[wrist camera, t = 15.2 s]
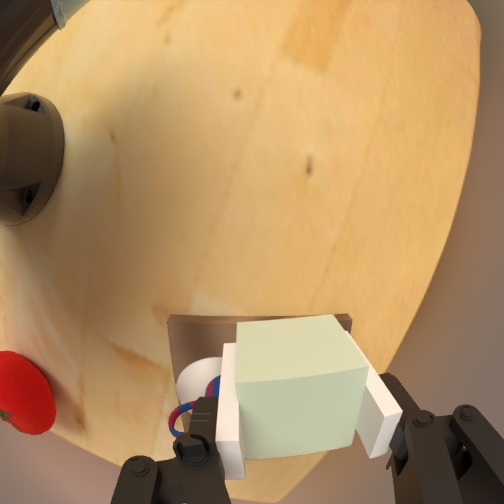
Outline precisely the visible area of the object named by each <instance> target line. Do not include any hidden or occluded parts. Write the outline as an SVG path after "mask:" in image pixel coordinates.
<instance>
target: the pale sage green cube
mask: <svg viewBox="0 0 504 504" xmlns="http://www.w3.org/2000/svg"><path fill="white" fill-rule="evenodd" d="M368 371H369V365H368V363H367V362H366V361H365V359H364V358H363V356H362V355H361V353H360V352H359V350H358V349H357V348H356V346H355V345H354V343H353V342H352V340H351V339H350V338H349V336H348V335H347V333H346V332H345V330H344V329H343V328H342V326H341V325H340V323H339V322H338V321H337V319H336V318H335V316H334V315H333V314H328V315H319V316H310V317H300V318H289V319H277V320H265V321H251V322H237V335H236V368H235V386H236V394H237V402H239V408H240V416H241V423H242V430H243V437H244V445H245V460H254V459H268V458H279V457H288V456H296V455H303V454H310V453H316V452H322V451H327V450H333V449H338V448H342V447H347V446H351V444H352V440H353V437H354V433H355V429H356V426H357V422H358V417H359V413H360V409H361V404H362V400H363V395H364V390H365V385H366V381H367V376H368Z"/></svg>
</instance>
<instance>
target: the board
mask: <svg viewBox="0 0 504 504" xmlns="http://www.w3.org/2000/svg"><path fill="white" fill-rule="evenodd" d="M311 316H319V315H311ZM334 316H335V318H336V319H337V321H338V322H339V323H340V325H341V326H342V328H343V329H344V330H345V331H348V333H349V334H350V331H351V325H352V319H351V318H350V316H349V315H348V314H334ZM300 317H310V316H269V317H230V316H188V315H170V317H169V319H168V321H167V324H168V333H169V341H170V349H171V356H172V363H173V370H174V377H175V383H176V393H177V397H178V400H179V406H180V405H182V404H185V403H187V402H191V401H195V400H197V399H198V398H199V397H205V392H206V388H207V385H208V384H209V383H210V381H211V380H213V379H214V378H215V377H217V376H219V375H221V368H222V357H223V347H224V343H236V335H237V322H251V321H265V320H277V319H289V318H300ZM191 414H192V409H191V410H188V411H186V412H184V413H182V414H181V416H182V421H183V426H184V431H185V432H188V431H189V425H190V421H191Z"/></svg>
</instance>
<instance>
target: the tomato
mask: <svg viewBox="0 0 504 504" xmlns="http://www.w3.org/2000/svg"><path fill="white" fill-rule="evenodd" d="M55 416H56V407H55V402H54V398H53V395H52V391H51V388H50V385H49V383H48V381H47V380H46V379H45V377H44V376H43V375H42V373H41V372H40V371H39V370H38V369H37V368H36V367H35V366H34V365H32V364H31V363H30V362H29V361H28V360H27V359H25V358H24V357H22V356H20V355H19V354H17V353H15V352H12V351H0V418H1V419H2V420H3V421H6V422H8V423H10V424H11V425H12V426H13V427H14V428H16V429H17V430H18V431H20V432H23V433H27V434H31V435H38V434H42V433H44V432H46V431H48V430H49V429H50V428H51V427H52V425H53V423H54V421H55Z"/></svg>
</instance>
